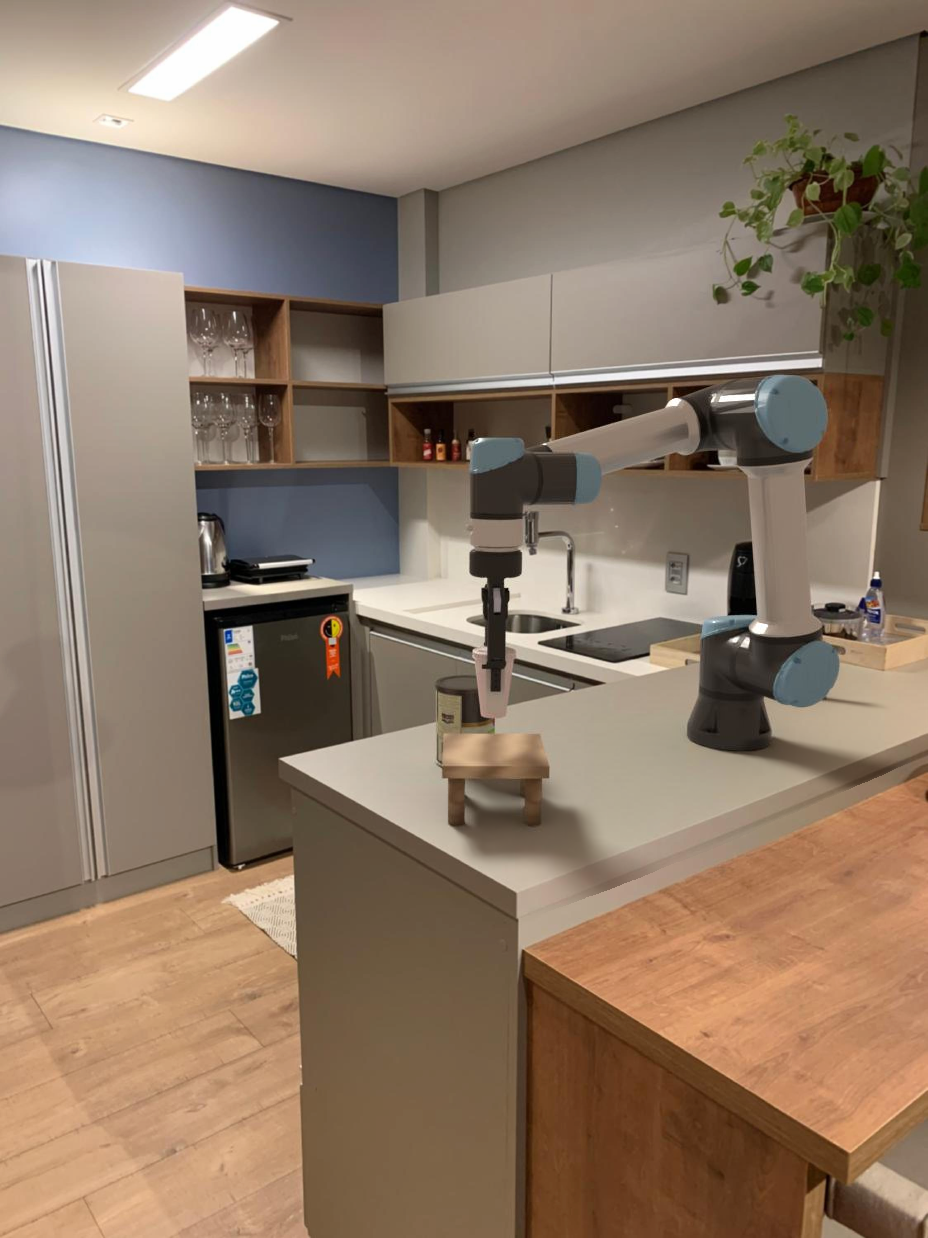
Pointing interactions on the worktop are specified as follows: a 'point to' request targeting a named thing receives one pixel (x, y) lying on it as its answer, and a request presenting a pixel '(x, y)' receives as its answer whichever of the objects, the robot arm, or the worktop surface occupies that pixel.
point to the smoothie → (480, 659)
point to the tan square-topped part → (494, 768)
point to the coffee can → (458, 710)
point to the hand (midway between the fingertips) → (493, 705)
